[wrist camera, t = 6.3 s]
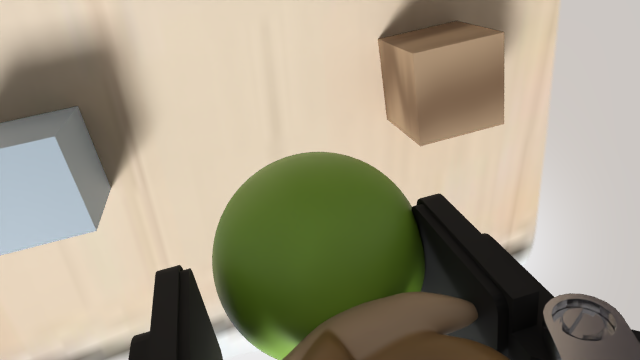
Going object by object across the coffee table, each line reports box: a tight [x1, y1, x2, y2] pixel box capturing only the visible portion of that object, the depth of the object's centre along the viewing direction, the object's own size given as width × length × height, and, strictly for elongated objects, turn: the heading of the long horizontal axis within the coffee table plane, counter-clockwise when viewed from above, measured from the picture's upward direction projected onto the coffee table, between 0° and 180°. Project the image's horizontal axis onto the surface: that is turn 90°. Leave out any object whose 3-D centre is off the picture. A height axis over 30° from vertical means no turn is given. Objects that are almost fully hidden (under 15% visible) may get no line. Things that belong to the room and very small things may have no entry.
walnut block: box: [378, 21, 504, 146], centre depth 27 cm, size 5×5×5 cm
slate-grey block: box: [0, 106, 111, 255], centre depth 24 cm, size 5×5×5 cm
